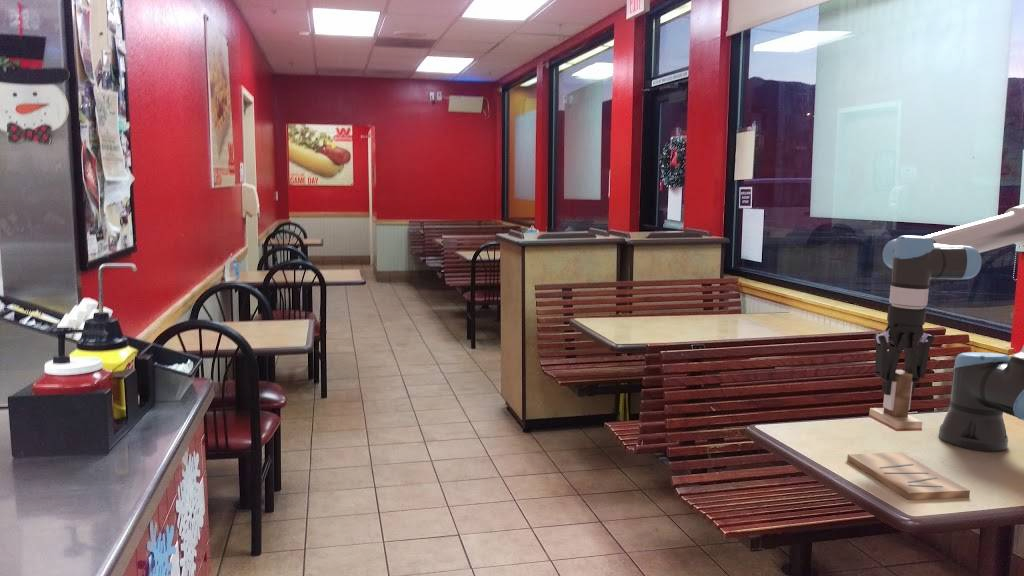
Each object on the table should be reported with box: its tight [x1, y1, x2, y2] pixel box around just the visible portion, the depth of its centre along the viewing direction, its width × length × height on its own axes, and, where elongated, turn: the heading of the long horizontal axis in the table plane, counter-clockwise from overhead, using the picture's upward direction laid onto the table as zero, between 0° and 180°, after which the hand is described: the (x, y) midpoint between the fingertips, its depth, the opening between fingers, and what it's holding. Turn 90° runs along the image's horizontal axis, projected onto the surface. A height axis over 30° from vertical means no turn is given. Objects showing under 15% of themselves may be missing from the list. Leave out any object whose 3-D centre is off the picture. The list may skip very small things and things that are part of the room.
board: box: [846, 452, 971, 501], centre depth 171 cm, size 14×22×2 cm, turn 9°
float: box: [868, 369, 923, 432], centre depth 174 cm, size 6×10×12 cm, turn 9°
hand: (896, 408), depth 174 cm, fingers closed on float, 3 cm apart
